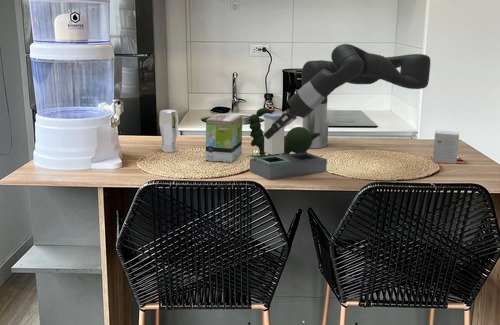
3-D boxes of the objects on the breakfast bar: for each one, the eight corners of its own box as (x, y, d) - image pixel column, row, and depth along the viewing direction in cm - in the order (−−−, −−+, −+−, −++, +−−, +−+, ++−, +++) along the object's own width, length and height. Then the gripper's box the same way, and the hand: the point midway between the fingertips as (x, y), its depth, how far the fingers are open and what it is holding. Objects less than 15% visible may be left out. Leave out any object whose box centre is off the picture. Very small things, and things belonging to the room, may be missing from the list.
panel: (304, 163, 189) (304, 150, 188) (326, 171, 179) (326, 157, 178) (249, 171, 178) (249, 157, 177) (269, 179, 168) (270, 165, 167)
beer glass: (156, 151, 204) (155, 111, 200) (166, 147, 210) (165, 109, 207) (173, 153, 201) (172, 112, 198) (182, 149, 208) (181, 110, 204)
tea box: (233, 163, 189) (233, 120, 185) (204, 161, 190) (204, 119, 187) (242, 153, 203) (242, 113, 199) (216, 152, 205) (215, 112, 201)
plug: (275, 150, 177) (276, 113, 174) (284, 153, 173) (284, 115, 170) (263, 151, 174) (264, 114, 172) (271, 154, 171) (272, 116, 168)
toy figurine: (251, 164, 194) (322, 159, 193) (247, 111, 190) (320, 105, 188) (252, 158, 203) (320, 153, 202) (248, 107, 199) (318, 102, 197)
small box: (456, 160, 196) (459, 131, 194) (456, 164, 191) (459, 134, 189) (432, 158, 199) (435, 129, 196) (432, 162, 194) (435, 132, 191)
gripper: (310, 111, 160) (270, 148, 166) (319, 105, 173) (282, 139, 179) (293, 92, 160) (254, 130, 166) (303, 87, 173) (267, 122, 180)
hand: (269, 134), depth 173 cm, fingers closed on plug, 6 cm apart
